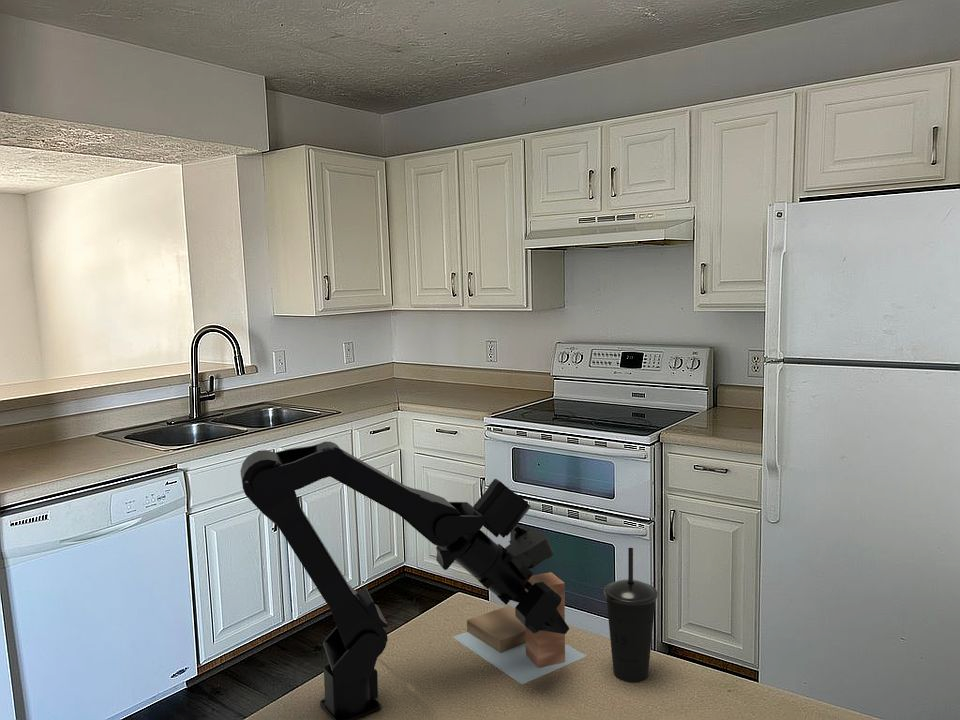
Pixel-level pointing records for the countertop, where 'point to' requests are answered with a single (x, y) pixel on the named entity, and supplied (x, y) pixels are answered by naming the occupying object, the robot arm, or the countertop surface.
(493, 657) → the board
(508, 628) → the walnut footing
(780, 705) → the countertop surface
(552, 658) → the terracotta pillar
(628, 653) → the drinking cup
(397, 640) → the countertop surface
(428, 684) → the countertop surface
